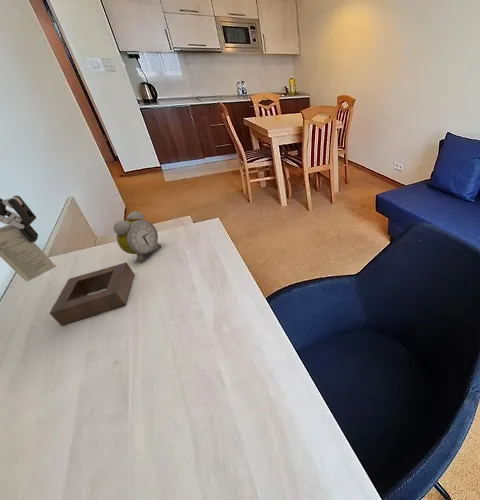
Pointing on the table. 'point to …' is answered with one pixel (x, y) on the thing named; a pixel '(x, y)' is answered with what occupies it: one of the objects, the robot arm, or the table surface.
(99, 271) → the socket block
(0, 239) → the cosmetic box
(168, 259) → the table surface
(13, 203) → the robot arm
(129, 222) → the alarm clock
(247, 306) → the table surface
